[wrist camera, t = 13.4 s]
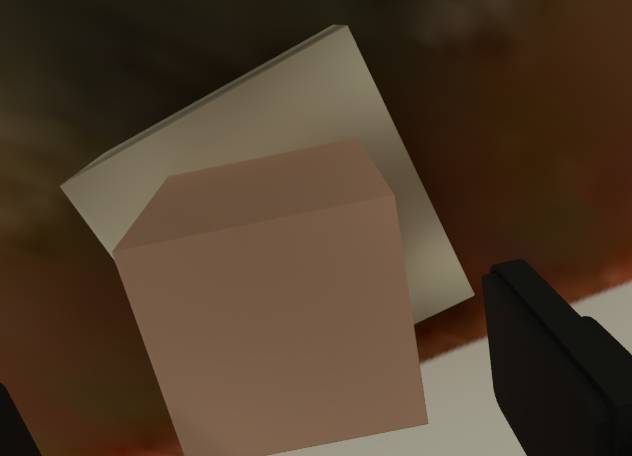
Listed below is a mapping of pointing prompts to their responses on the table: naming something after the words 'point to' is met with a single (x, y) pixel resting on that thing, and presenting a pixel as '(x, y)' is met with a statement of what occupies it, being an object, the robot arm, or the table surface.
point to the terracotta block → (276, 303)
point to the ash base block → (275, 138)
